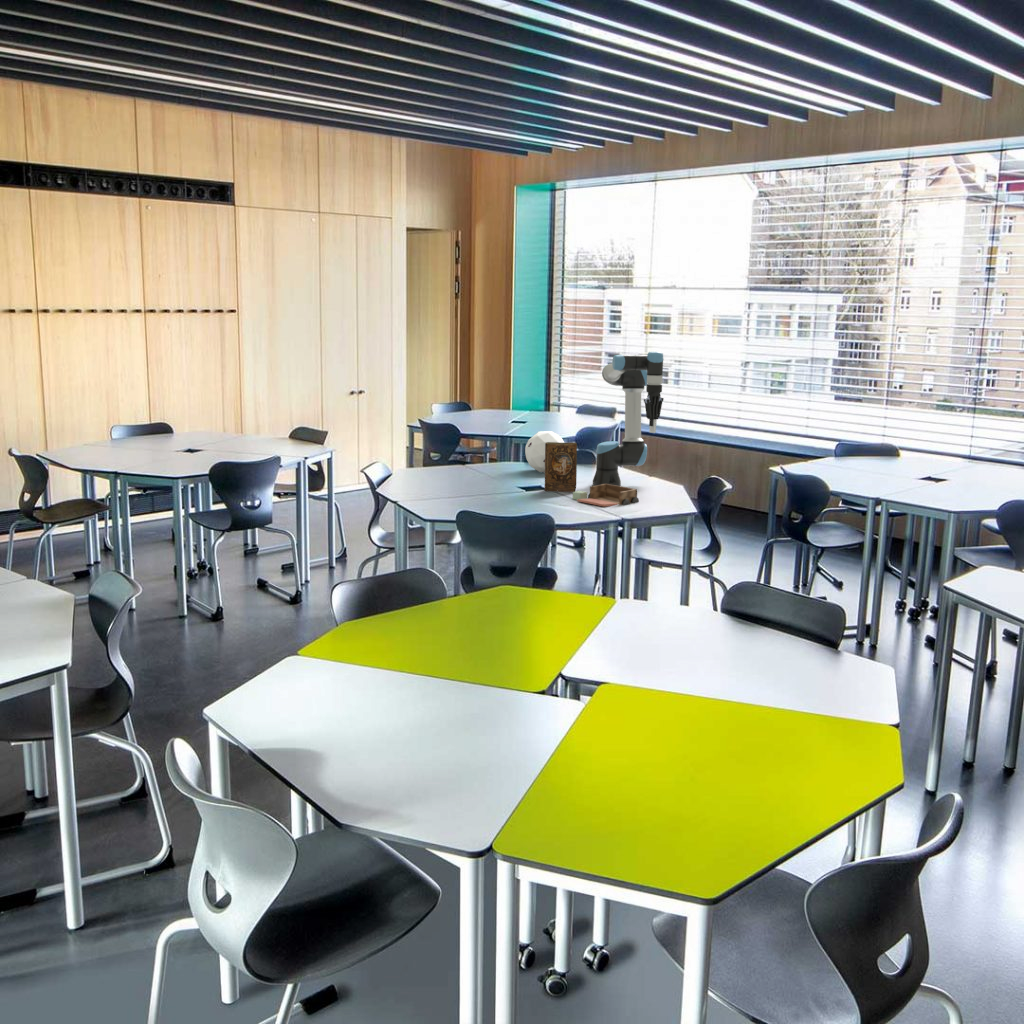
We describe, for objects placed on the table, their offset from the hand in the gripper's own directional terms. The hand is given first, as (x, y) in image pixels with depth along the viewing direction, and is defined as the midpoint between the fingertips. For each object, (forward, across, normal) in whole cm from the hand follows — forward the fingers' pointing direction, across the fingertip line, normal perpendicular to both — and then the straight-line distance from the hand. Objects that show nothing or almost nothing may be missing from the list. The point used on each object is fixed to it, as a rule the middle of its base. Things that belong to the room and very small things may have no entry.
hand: (652, 432), depth 483 cm
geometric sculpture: (+35, -22, -93) cm, 102 cm away
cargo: (+35, +26, -23) cm, 49 cm away
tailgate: (+33, +23, -10) cm, 41 cm away
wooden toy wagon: (+34, +16, -10) cm, 39 cm away
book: (+35, +13, -48) cm, 61 cm away
